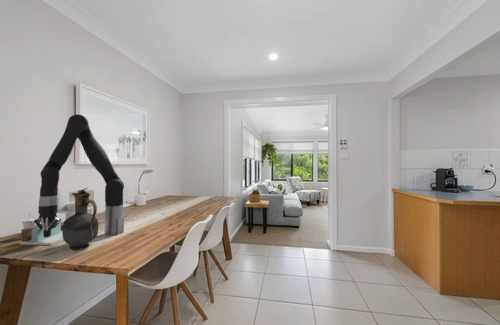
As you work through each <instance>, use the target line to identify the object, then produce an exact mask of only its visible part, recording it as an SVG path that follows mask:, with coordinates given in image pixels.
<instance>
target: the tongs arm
mask: <svg viewBox="0 0 500 325" xmlns="http://www.w3.org/2000/svg"><path fill="white" fill-rule="evenodd" d="M61 228H62V223H61V221H60V223H59V224H58V225H57V226H56V227H55V228H53V229H51V235H50V236H53V235H55V234H58V233H60V232H61V231H62V229H61ZM45 238H47V237H44V236H43V229H39V228H36V229H32V240H31V241H39V240H42V239H45Z"/></svg>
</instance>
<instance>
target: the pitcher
mask: <svg viewBox="0 0 500 325" xmlns="http://www.w3.org/2000/svg"><path fill="white" fill-rule="evenodd" d="M86 190H88V188H87V187H86V188H84V189H79V190H77V191H79V192H78V193H72V195H73V196H74V197H75V215H73V216H70V217H69V218H67V219H66V218H65V220H64V222H63V224H62V226H61V228H62V229H61V231H62V235H63V240H64V242H65V243H66V244H67V245H69V246H70V249H71V250H72V251H78V250H79V251H80V250H84V249H87V248H89V247H90V244H89V243H91V242H92V241H94V240H95V239H96V238H97V236H98V233H99V221H98V218H97V217H96V214H97V211H98V210H97V206H98V205H97V204H96V201H95V200H94V201H93V200H89V196H90V195H91V194H89V193H88V192H86ZM89 203H91V204H92V205H93V208H92V214H88V213H87V210H88V205H89ZM96 205H97V206H96Z"/></svg>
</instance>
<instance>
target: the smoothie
mask: <svg viewBox="0 0 500 325" xmlns="http://www.w3.org/2000/svg"><path fill="white" fill-rule="evenodd" d="M28 214H29V215H28V216H29V217H28V219H23V220H22V221H21V223H22V226H23V229H26V228H29V227H33V226H37V225H36V223H35V222H34V220H36V219H37V218H31V216H32V215H31V214H32V212H31V211H30V212H29V213H28Z"/></svg>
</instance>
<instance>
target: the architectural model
mask: <svg viewBox="0 0 500 325" xmlns="http://www.w3.org/2000/svg"><path fill="white" fill-rule="evenodd" d="M85 191H86V192H88V193H89V194H91V195H90V196H89V200H93V201H94V202H95V190H94V189H89V190H88V189H85ZM78 192H79V191H78V190H75V191H65V192H60V193H59V192H58V212H57V213H56V214H65V220H66V219H67V218H69V217H70V216H73V215H75V197H74V196H73V195H72V193H78ZM96 206H98V204H96ZM87 213H88V214H92V215H93V205H92V204H91V203H89V205H88V210H87Z"/></svg>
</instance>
